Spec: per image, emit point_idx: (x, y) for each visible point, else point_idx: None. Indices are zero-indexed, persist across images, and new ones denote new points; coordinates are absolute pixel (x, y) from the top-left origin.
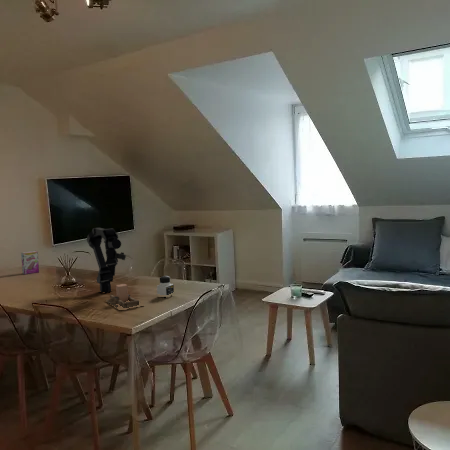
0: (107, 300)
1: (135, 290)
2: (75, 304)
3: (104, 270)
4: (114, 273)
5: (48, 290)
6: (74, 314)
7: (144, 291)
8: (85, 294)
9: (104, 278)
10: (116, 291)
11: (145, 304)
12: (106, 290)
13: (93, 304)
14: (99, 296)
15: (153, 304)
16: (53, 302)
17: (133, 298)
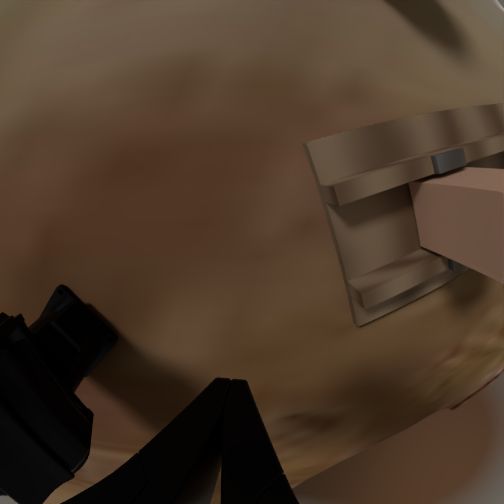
0: (373, 312)
1: (87, 98)
2: (328, 446)
3: (21, 466)
4: (258, 411)
5: (70, 491)
6: (462, 400)
7: (151, 26)
8: (127, 429)
9: (78, 418)
10: (470, 263)
11: (480, 86)
12: (95, 336)
13: (379, 377)
14: (192, 371)
15: (481, 55)
16: None
17: (496, 140)
